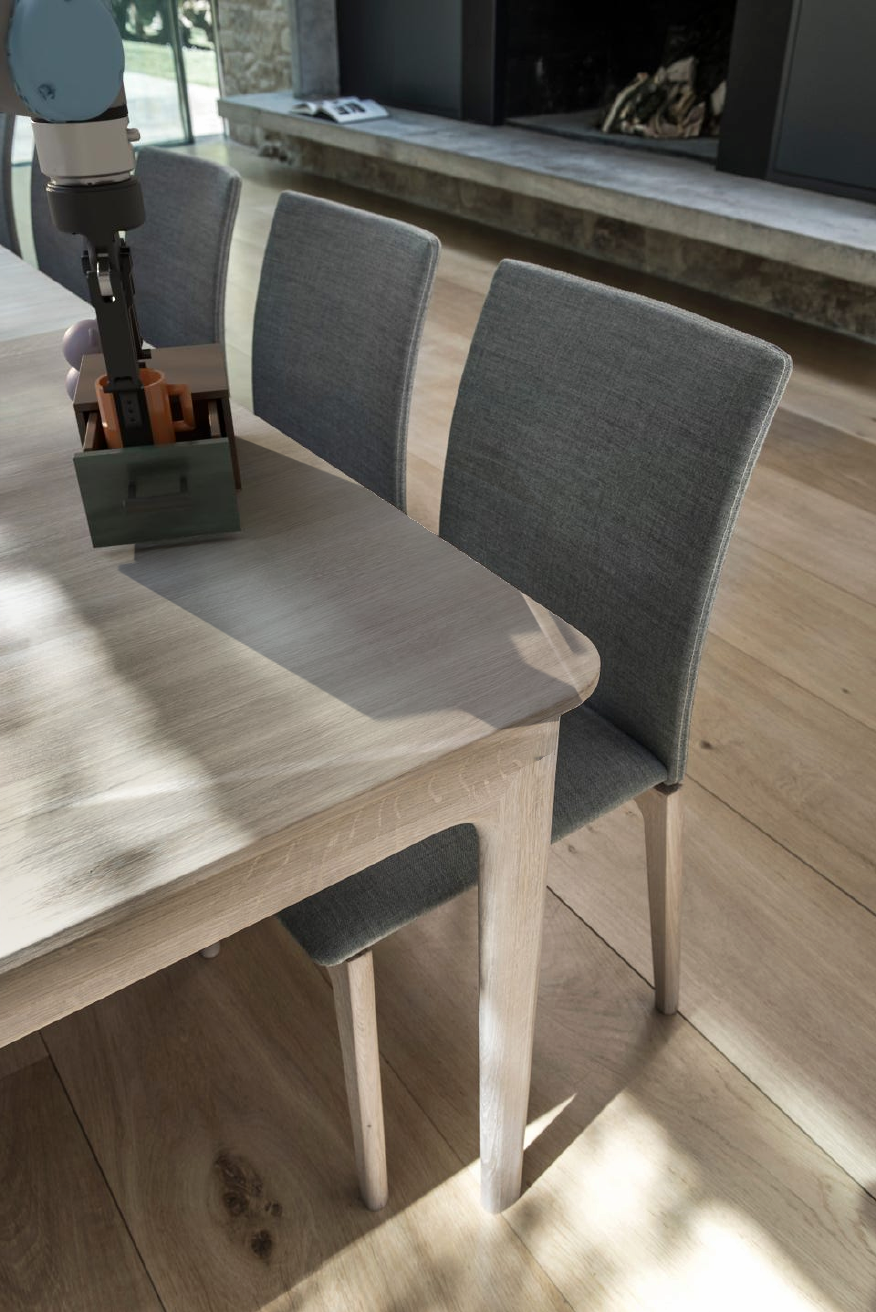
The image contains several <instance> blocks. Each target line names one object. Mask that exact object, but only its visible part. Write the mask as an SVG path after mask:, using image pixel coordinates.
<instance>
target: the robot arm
mask: <svg viewBox="0 0 876 1312" xmlns="http://www.w3.org/2000/svg"><path fill="white" fill-rule="evenodd" d="M125 55H126V54H125V47H124V43H123V39H122V35H121V33H120V30H119V27H118V25H117V24H116V15H115V13H114V10H113V5H112V0H0V114H4V115H5V114H6V115H14V116H21V117H27V118H30V124H31V129H32V134H33V138H34V143H35V148H36V153H37V157H38V158H37V159H38V163H39V167H40V172H41V173H42V174H43V175H45V176H46V177H47V178H50V181H48V182H47V185H46V186H45V191H46V197H47V201H48V206H49V210H50V215H51V221H52V224H53V227H54V228H55V230H57V231H58V232H60V233H62V234H64V235H65V234H66V235H72V236H76V235H81V236H83V237H85V238H86V247H87V248H84V249H82V254H83V255H81V256H80V259H81V260H80V261H81V267H82V272H83V275H84V276H85V277H86V281H87V284H88V290H89V296H90V302H91V306H92V307H93V309H94V312H95V318H97V323H98V329H99V334H100V339H101V344H102V349H103V355H104V360H105V365H106V370H107V376H108V386H103V391H104V394H106V393H113V398H114V403H115V408H116V413H117V418H118V423H119V428H120V433H121V438H122V443H123V448H128V447H138V446H148V445H155V444H154V438H153V433H152V427H151V422H150V416H149V410H148V405H147V399H146V394H145V388H144V386H143V382H142V380H141V379H140V372H139V368H146V363H145V362H139V360H144V359H152V356H151V349H152V348H143V345H144V337H142V333H141V328H140V322H139V317H138V311H137V306H136V302H135V294H136V284H135V283H136V282H135V279H134V273H133V268H134V261H133V259H134V258H133V253H132V249H131V246H130V245H128V246H127V242H126V241H125V238H124V237H121V235H120V232H129V231H133V230H136V229H138V228H140V227H141V226H143V225H144V224H145V223H146V220H147V214H146V207H145V203H144V197H143V190H142V183H141V180H140V179H138V177H137V176H136V175H134V174H131V172H133V171H135V169H136V167H137V166H138V164H137V163H138V162H137V158H136V151H135V146H134V145H133V143H136V142H140V140H141V139H142V137H141V133H140V131H139V129H138V128H136V127H131V128H128V126H129V124H130V117H129V109H128V102H127V100H128V99H127V93H126V88H125V82H124V73H125V70H126V69H125V67H126V57H125Z"/></svg>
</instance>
